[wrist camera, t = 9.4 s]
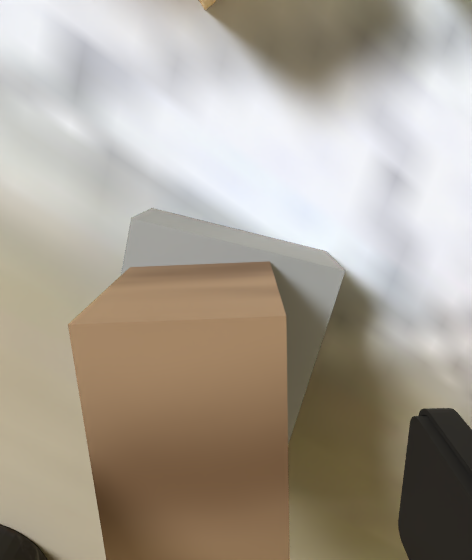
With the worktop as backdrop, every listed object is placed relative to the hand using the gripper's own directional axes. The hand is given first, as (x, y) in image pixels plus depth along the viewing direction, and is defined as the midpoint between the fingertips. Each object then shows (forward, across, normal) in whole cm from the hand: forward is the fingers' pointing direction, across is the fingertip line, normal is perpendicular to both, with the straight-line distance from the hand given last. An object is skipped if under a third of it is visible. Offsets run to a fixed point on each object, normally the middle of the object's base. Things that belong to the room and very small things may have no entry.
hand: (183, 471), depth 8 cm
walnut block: (+6, 0, +1) cm, 6 cm away
